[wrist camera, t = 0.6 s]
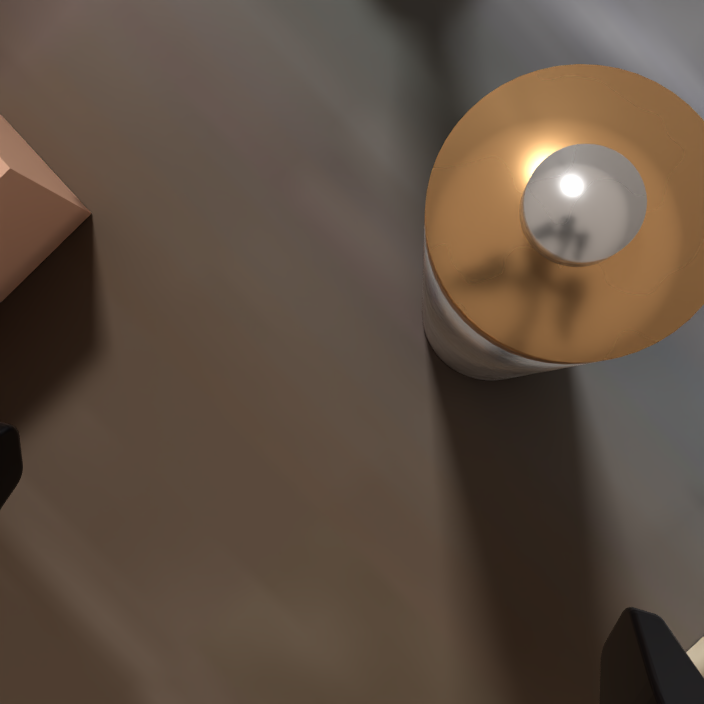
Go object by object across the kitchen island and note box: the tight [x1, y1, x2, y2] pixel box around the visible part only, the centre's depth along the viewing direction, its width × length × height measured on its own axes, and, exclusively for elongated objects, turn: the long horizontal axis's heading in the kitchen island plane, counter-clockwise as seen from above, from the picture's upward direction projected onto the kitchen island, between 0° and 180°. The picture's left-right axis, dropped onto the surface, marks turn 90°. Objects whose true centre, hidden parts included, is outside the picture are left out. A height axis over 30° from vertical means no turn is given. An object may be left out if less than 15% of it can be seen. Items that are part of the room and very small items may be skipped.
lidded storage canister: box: [422, 64, 704, 381], centre depth 17 cm, size 5×5×13 cm
